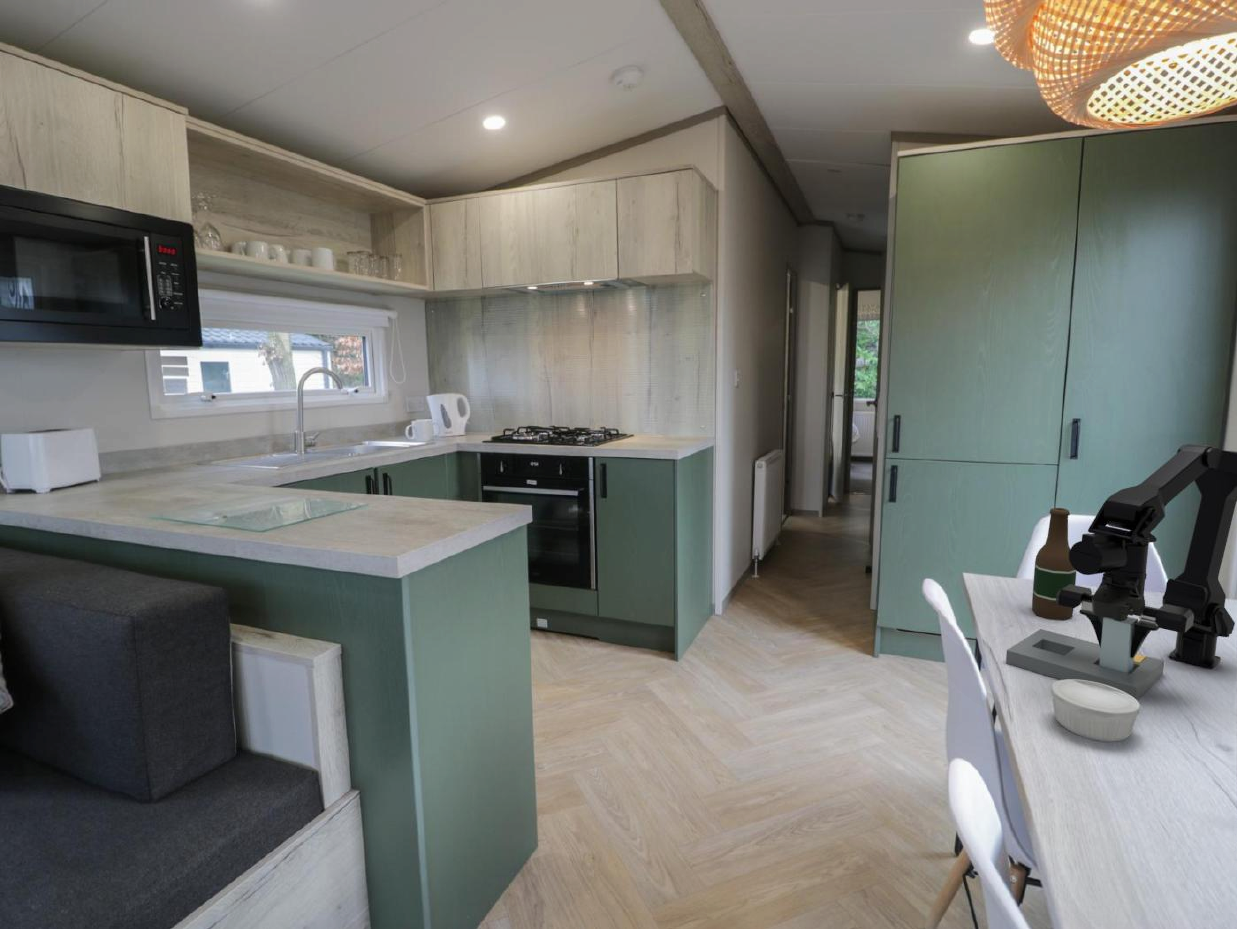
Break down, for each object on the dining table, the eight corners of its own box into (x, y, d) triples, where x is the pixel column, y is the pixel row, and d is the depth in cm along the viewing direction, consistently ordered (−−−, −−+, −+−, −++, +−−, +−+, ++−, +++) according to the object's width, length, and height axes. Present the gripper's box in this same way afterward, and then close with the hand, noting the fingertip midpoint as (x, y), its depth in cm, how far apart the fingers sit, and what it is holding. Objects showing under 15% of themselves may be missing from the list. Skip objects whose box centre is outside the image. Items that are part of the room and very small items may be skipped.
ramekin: (1135, 721, 107) (1138, 689, 106) (1139, 755, 97) (1143, 720, 97) (1050, 702, 113) (1052, 672, 112) (1047, 732, 104) (1049, 700, 103)
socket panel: (1039, 640, 138) (1040, 628, 137) (1162, 674, 122) (1164, 659, 122) (1005, 662, 128) (1006, 649, 127) (1135, 702, 112) (1137, 686, 112)
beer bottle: (1071, 623, 146) (1080, 514, 143) (1029, 616, 151) (1036, 509, 148) (1074, 613, 153) (1082, 507, 149) (1033, 606, 157) (1041, 504, 154)
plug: (1106, 665, 124) (1110, 612, 122) (1132, 673, 121) (1138, 619, 119) (1098, 672, 121) (1103, 618, 120) (1125, 679, 118) (1130, 624, 117)
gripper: (1047, 565, 120) (1041, 649, 123) (1181, 591, 106) (1171, 685, 108) (1070, 554, 127) (1064, 633, 130) (1198, 576, 113) (1189, 666, 115)
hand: (1117, 653), depth 120 cm, fingers closed on plug, 4 cm apart
